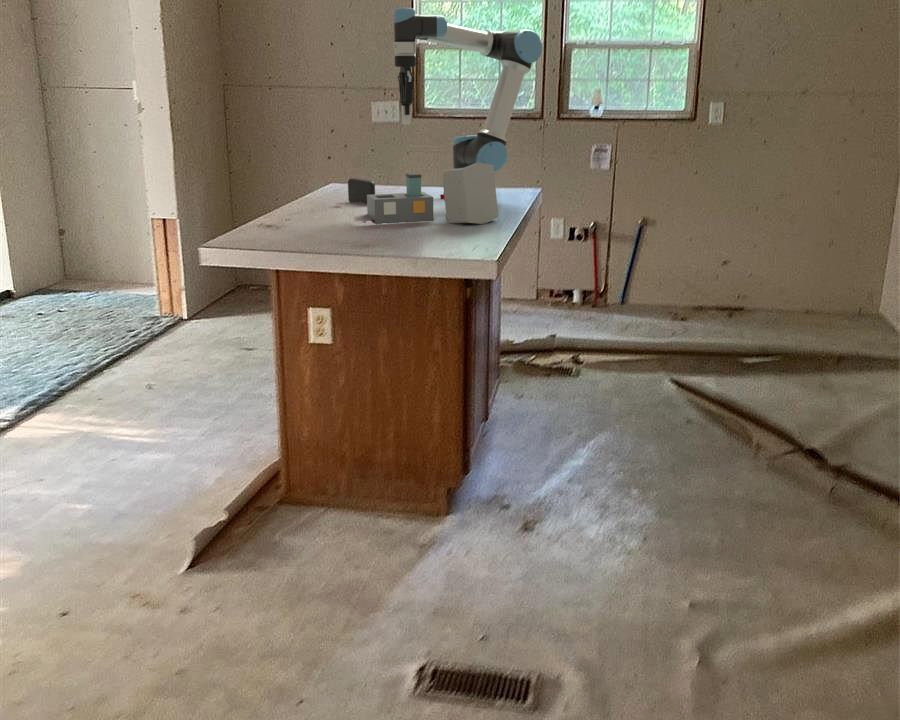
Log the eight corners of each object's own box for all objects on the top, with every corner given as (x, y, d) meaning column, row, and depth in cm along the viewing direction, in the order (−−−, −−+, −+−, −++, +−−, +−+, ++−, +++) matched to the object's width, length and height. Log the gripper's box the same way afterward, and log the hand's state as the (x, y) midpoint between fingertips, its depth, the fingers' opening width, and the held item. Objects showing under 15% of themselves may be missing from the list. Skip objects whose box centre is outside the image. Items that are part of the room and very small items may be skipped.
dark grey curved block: (382, 207, 328) (381, 181, 325) (371, 208, 326) (371, 182, 323) (357, 202, 340) (356, 177, 337) (347, 203, 338) (346, 178, 334)
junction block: (423, 215, 310) (423, 192, 308) (433, 221, 299) (433, 197, 296) (367, 218, 305) (366, 194, 302) (375, 224, 293) (374, 199, 291)
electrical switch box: (467, 222, 309) (461, 164, 305) (498, 221, 298) (493, 160, 294) (437, 227, 299) (430, 167, 295) (468, 226, 289) (462, 164, 285)
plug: (418, 214, 306) (417, 173, 301) (421, 216, 302) (421, 174, 297) (406, 215, 304) (405, 173, 300) (409, 217, 301) (409, 175, 296)
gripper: (390, 55, 318) (392, 123, 326) (399, 55, 306) (400, 125, 314) (410, 55, 320) (411, 122, 328) (420, 54, 308) (421, 125, 316)
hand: (406, 124), depth 321 cm, fingers closed
